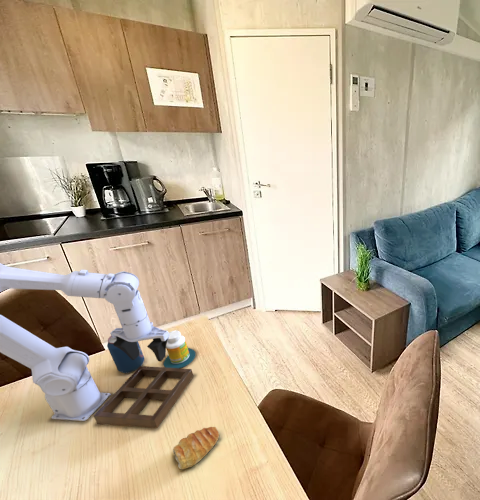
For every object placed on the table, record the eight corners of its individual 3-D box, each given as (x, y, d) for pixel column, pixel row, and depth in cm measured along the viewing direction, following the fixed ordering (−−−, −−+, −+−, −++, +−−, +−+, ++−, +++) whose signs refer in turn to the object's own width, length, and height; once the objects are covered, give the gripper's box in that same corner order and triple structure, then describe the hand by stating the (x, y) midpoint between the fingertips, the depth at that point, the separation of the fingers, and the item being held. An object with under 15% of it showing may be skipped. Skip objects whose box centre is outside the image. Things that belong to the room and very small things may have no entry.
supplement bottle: (186, 363, 90) (178, 339, 86) (167, 365, 89) (159, 341, 85) (192, 351, 94) (185, 327, 90) (174, 352, 94) (167, 329, 90)
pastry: (212, 424, 72) (209, 414, 70) (225, 443, 68) (222, 433, 66) (171, 454, 65) (167, 443, 64) (183, 476, 61) (179, 466, 60)
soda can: (150, 362, 90) (139, 332, 85) (127, 378, 85) (113, 347, 80) (137, 355, 93) (125, 326, 88) (113, 370, 87) (99, 340, 82)
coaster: (157, 369, 88) (157, 368, 88) (175, 348, 96) (175, 347, 96) (185, 370, 87) (185, 370, 87) (201, 349, 96) (200, 348, 95)
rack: (97, 423, 72) (92, 415, 71) (143, 373, 86) (140, 365, 85) (157, 428, 71) (154, 420, 70) (193, 376, 86) (191, 368, 84)
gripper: (171, 310, 76) (182, 348, 82) (119, 307, 77) (134, 346, 82) (152, 327, 70) (166, 368, 75) (96, 324, 70) (115, 365, 76)
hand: (149, 358), depth 78 cm, fingers open, 7 cm apart
